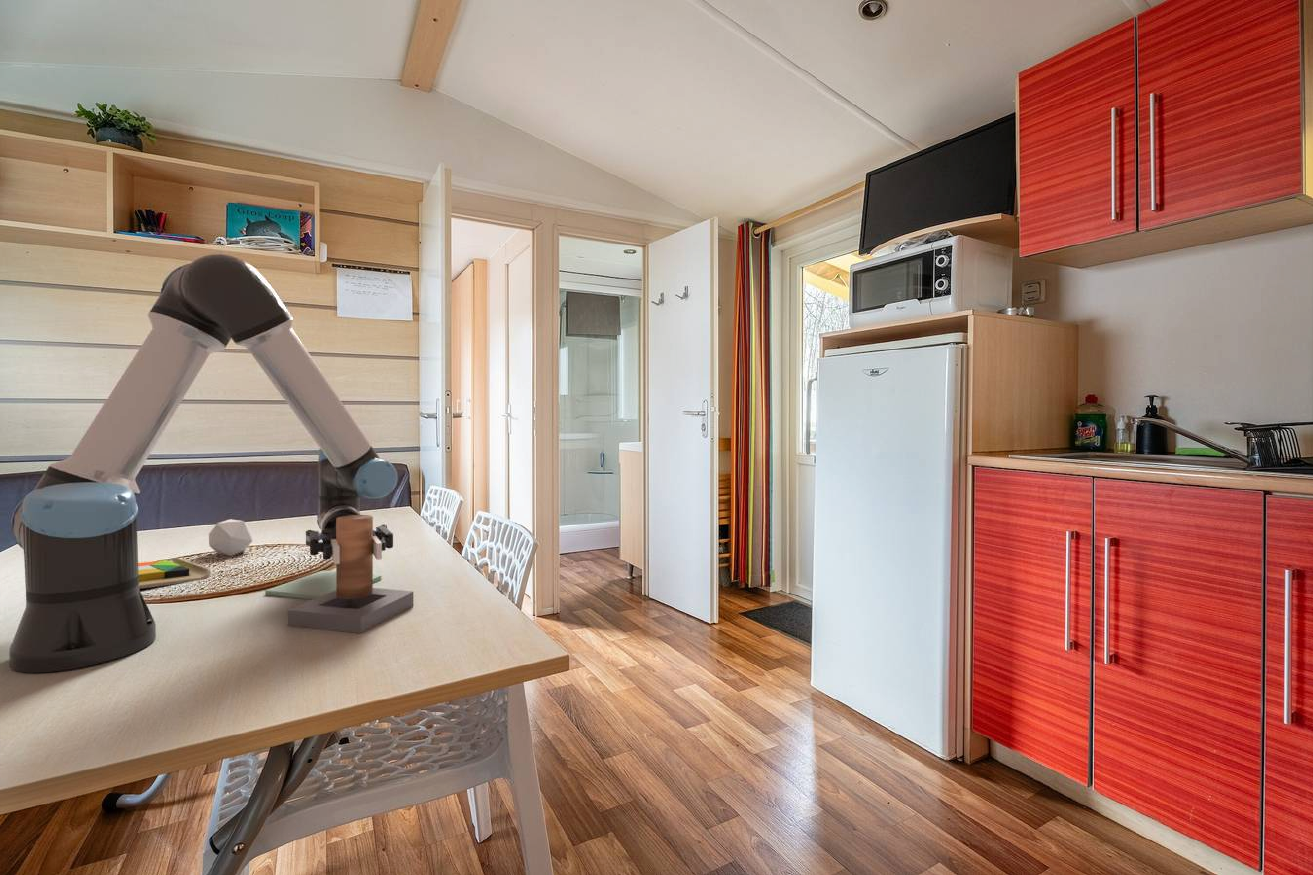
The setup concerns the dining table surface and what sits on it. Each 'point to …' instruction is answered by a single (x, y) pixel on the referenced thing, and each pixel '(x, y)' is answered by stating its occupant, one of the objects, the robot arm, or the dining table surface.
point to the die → (230, 537)
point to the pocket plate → (350, 610)
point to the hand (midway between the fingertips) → (358, 553)
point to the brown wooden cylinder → (354, 556)
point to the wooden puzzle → (169, 572)
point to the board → (310, 586)
